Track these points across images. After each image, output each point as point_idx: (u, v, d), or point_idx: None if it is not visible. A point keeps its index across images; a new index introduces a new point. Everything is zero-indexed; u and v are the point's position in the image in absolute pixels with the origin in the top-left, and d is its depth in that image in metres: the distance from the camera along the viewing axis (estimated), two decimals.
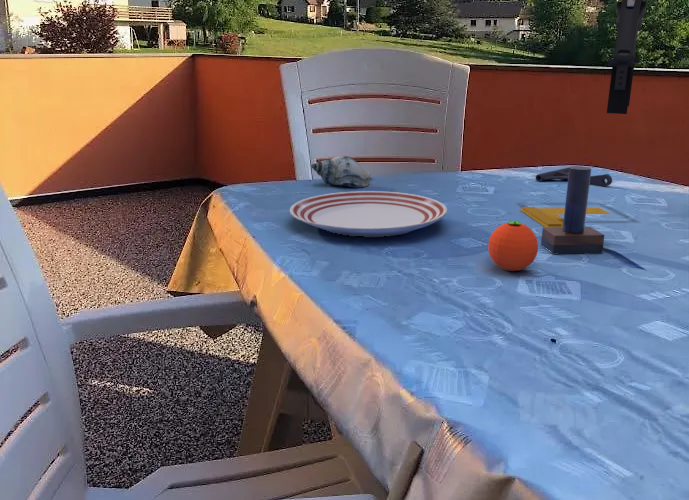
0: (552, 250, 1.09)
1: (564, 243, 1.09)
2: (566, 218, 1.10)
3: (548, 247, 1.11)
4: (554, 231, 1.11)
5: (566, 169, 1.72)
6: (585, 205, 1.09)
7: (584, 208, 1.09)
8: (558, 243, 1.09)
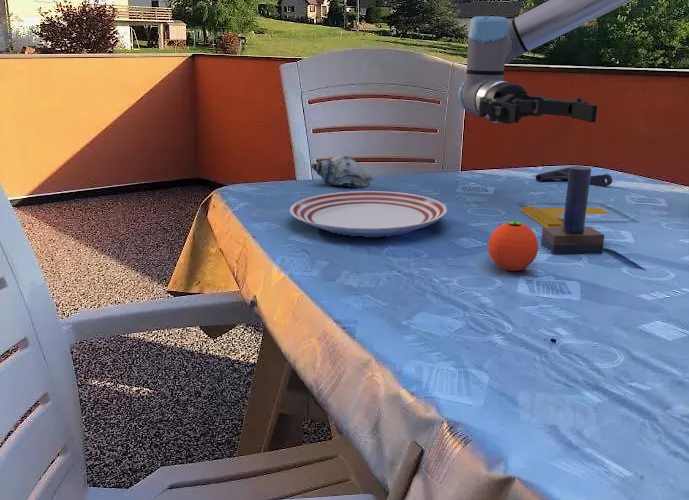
0: (552, 250, 1.09)
1: (564, 243, 1.09)
2: (566, 218, 1.10)
3: (548, 247, 1.11)
4: (554, 231, 1.11)
5: (566, 169, 1.72)
6: (585, 205, 1.09)
7: (584, 208, 1.09)
8: (558, 243, 1.09)
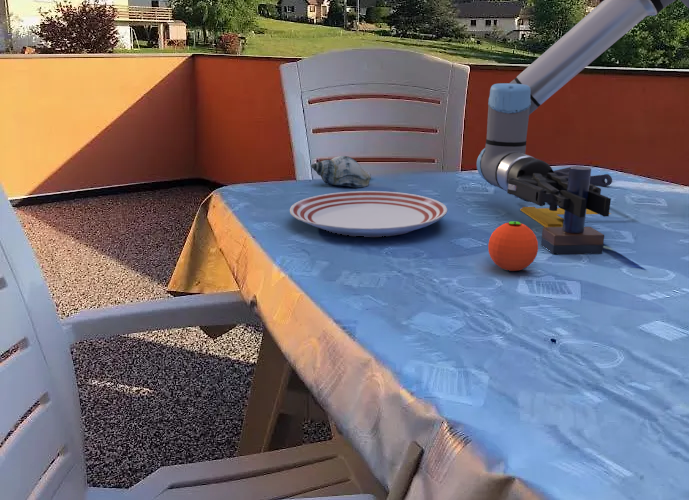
0: (552, 250, 1.09)
1: (564, 243, 1.09)
2: (566, 218, 1.10)
3: (548, 247, 1.11)
4: (554, 231, 1.11)
5: (566, 169, 1.72)
6: None
7: None
8: (558, 243, 1.09)
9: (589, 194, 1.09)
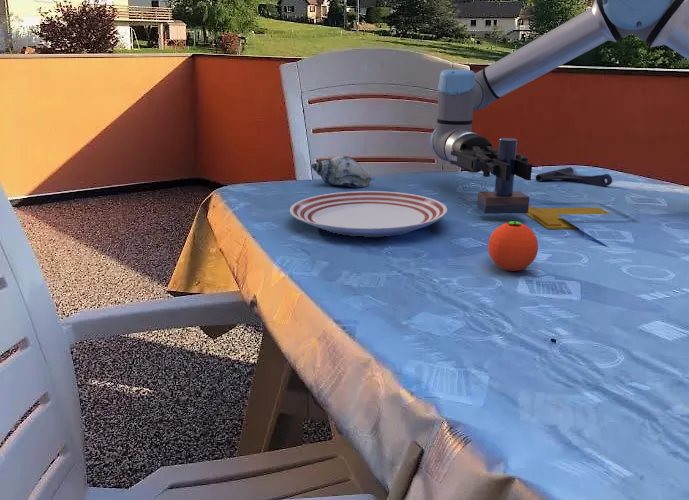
0: (484, 210, 1.27)
1: (494, 204, 1.27)
2: (497, 182, 1.28)
3: (482, 208, 1.29)
4: (487, 194, 1.28)
5: (566, 169, 1.72)
6: (512, 171, 1.27)
7: (511, 174, 1.27)
8: (489, 204, 1.27)
9: (516, 162, 1.27)
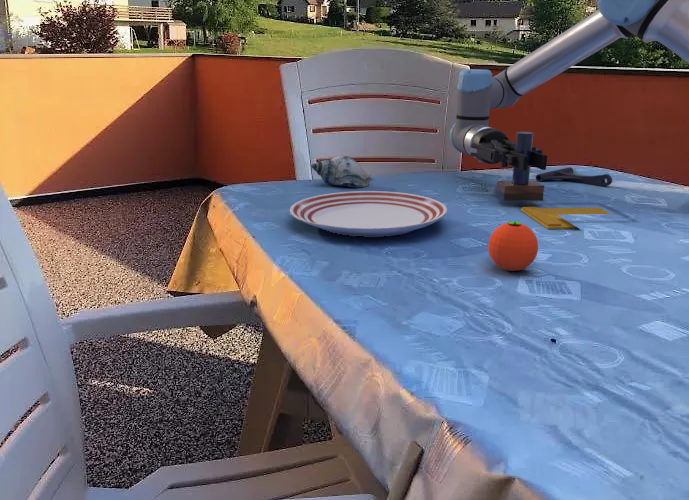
0: (503, 197, 1.39)
1: (512, 192, 1.39)
2: (514, 172, 1.39)
3: (500, 196, 1.40)
4: (505, 183, 1.40)
5: (566, 169, 1.72)
6: (529, 162, 1.38)
7: (528, 164, 1.38)
8: (508, 192, 1.38)
9: (532, 153, 1.39)
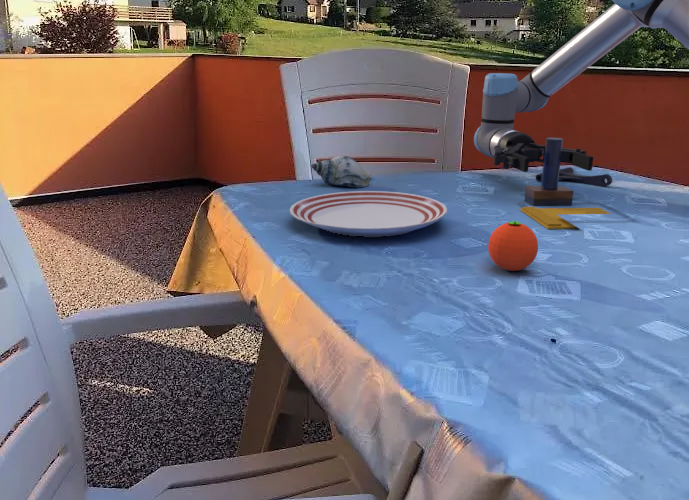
0: (532, 202, 1.41)
1: (542, 197, 1.40)
2: (544, 178, 1.41)
3: (530, 201, 1.42)
4: (534, 188, 1.42)
5: (566, 169, 1.72)
6: (558, 167, 1.40)
7: (557, 170, 1.40)
8: (537, 197, 1.40)
9: (577, 155, 1.44)
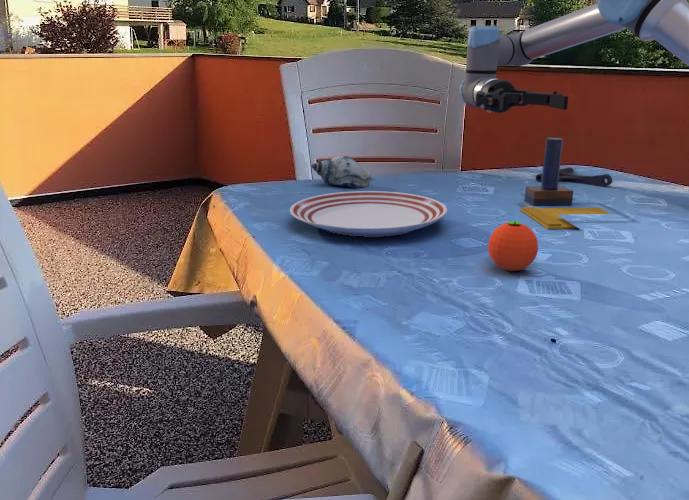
0: (532, 202, 1.41)
1: (542, 197, 1.40)
2: (544, 178, 1.41)
3: (530, 201, 1.42)
4: (534, 188, 1.42)
5: (566, 169, 1.72)
6: (558, 167, 1.40)
7: (557, 170, 1.40)
8: (537, 197, 1.40)
9: (554, 96, 1.52)
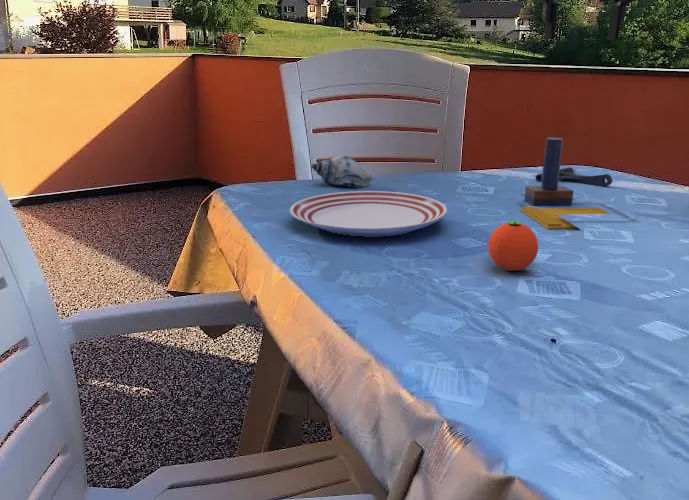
0: (532, 202, 1.41)
1: (542, 197, 1.40)
2: (544, 178, 1.41)
3: (530, 201, 1.42)
4: (534, 188, 1.42)
5: (566, 169, 1.72)
6: (558, 167, 1.40)
7: (557, 170, 1.40)
8: (537, 197, 1.40)
9: (616, 15, 1.37)
